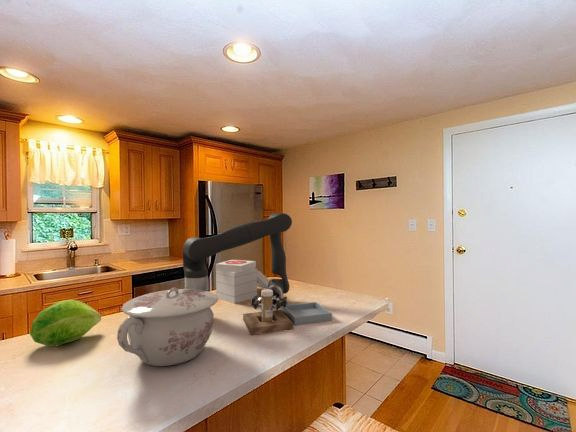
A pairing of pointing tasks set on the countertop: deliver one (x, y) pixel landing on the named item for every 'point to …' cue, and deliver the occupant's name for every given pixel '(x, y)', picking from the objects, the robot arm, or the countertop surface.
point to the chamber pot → (167, 325)
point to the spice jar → (267, 305)
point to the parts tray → (306, 313)
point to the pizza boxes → (238, 280)
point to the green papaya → (63, 322)
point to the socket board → (267, 323)
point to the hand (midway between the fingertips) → (266, 306)
